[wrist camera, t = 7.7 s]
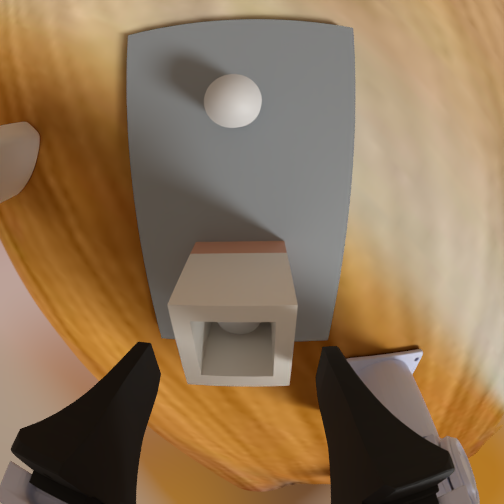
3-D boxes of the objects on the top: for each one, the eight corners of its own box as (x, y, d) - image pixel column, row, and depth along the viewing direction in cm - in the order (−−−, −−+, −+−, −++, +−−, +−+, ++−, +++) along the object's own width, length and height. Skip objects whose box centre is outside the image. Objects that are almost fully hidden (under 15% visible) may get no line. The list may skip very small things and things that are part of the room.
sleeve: (281, 312, 18) (289, 385, 13) (204, 312, 18) (187, 383, 13) (284, 241, 16) (297, 305, 10) (195, 242, 16) (167, 304, 11)
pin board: (325, 331, 20) (337, 376, 16) (165, 329, 20) (148, 373, 16) (347, 32, 11) (377, 7, 7) (135, 39, 12) (97, 19, 8)
